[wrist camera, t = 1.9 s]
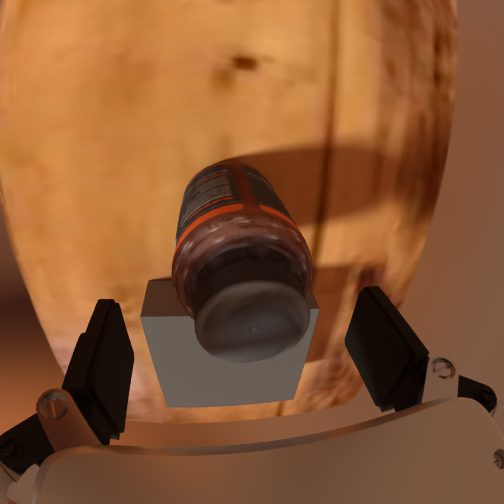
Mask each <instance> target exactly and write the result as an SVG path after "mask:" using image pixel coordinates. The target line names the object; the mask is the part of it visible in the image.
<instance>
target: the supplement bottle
mask: <svg viewBox="0 0 504 504" xmlns="http://www.w3.org/2000/svg"><path fill="white" fill-rule="evenodd" d="M312 272H313V266H312V258H311V254H310V251H309V248H308V246H307V243H306V241H305V239H304V237H303V236H302V234H301V232H300V231H299V229H298V227H297V226H296V224H295V223H294V221H293V219H292V218H291V216H290V215H289V213H288V211H287V210H286V208H285V207H284V205H283V204H282V202H281V200H280V199H279V197H278V196H277V194H276V193H275V191H274V190H273V188H272V187H271V185H270V184H269V182H268V181H267V180H266V179H265V178H264V177H263V175H261V174H260V173H259V172H258V171H257V170H256V169H254V168H252V167H250V166H248V165H245V164H242V163H238V162H220V163H216V164H213V165H211V166H208V167H206V168H205V169H203V170H201V171H200V172H199V173H198V174H196V175H195V176H194V177H193V178H192V180H191V181H190V183H189V184H188V186H187V188H186V191H185V193H184V196H183V199H182V204H181V210H180V215H179V221H178V227H177V233H176V240H175V247H174V254H173V262H172V285H173V290H174V293H175V296H176V298H177V300H178V302H179V304H180V305H181V307H182V308H183V310H184V311H185V312H186V313H187V314H188V315H189V316H190V317H191V318H192V319H193V320H194V321H195V322H194V324H195V334H196V337H197V340H198V342H199V343H200V345H201V346H202V348H203V349H204V350H206V351H207V352H208V353H209V354H210V355H212V356H214V357H216V358H217V359H219V360H222V361H226V362H230V363H236V364H253V363H261V362H265V361H268V360H271V359H274V358H277V357H278V356H281V355H283V354H284V353H286V352H287V351H288V350H290V349H291V348H293V347H294V346H295V345H297V343H298V342H299V341H300V340H301V339H302V338H303V336H304V335H305V333H306V331H307V328H308V326H309V323H310V309H309V305H308V302H307V300H306V297H305V296H306V294H307V292H308V289H309V287H310V283H311V280H312Z"/></svg>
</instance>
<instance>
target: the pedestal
mask: <svg viewBox="0 0 504 504" xmlns="http://www.w3.org/2000/svg"><path fill="white" fill-rule="evenodd" d="M305 297H306V300H307V302H308V305H309V309H310V323H309V326H308V328H307V331H306V333H305V335H304V336H303V338H302V339H301V340H300V341H299V342H298V343H297V345H295V346H294V347H293V348H291V349H290V350H288V351H287V352H286V353H284V354H283V355H281V356H278V357H277V358H274V359H271V360H268V361H265V362H261V363H253V364H236V363H230V362H226V361H222V360H219V359H217V358H216V357H214V356H212V355H210V354H209V353H208V352H207V351H206V350H204V349H203V348H202V346H201V345H200V343H199V342H198V340H197V337H196V334H195V324H194V322H195V321H194V320H193V319H192V318H191V317H190V316H189V315H188V314H187V313H186V312H185V311H184V310H183V308H182V307H181V305H180V304H179V302H178V300H177V298H176V296H175V293H174V290H173V285H172V280H163V281H148V285H147V289H146V293H145V298H144V302H143V307H142V311H141V316H140V317H141V321H142V325H143V329H144V333H145V336H146V340H147V343H148V347H149V350H150V354H151V357H152V361H153V364H154V367H155V370H156V373H157V377H158V380H159V383H160V386H161V389H162V392H163V395H164V397H165V400H166V403H167V406H168V407H218V406H235V405H248V404H258V403H268V402H276V401H284V400H292V399H294V396H295V393H296V390H297V387H298V384H299V380H300V377H301V374H302V371H303V367H304V364H305V360H306V357H307V353H308V350H309V346H310V343H311V339H312V336H313V332H314V328H315V324H316V320H317V317H318V313H319V309H320V308H319V306H318V304H317V302H316V300H315V298H314V296H313V294H312V292H311V290H310V287H309V289H308V292H307V294H306V296H305Z"/></svg>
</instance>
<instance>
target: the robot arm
mask: <svg viewBox="0 0 504 504" xmlns="http://www.w3.org/2000/svg"><path fill="white" fill-rule="evenodd" d="M345 345H346V348H347V350H348V352H349V354H350V355H351V357H352V359H353V361H354V363H355V365H356V367H357V369H358V371H359V373H360V375H361V377H362V379H363V381H364V383H365V385H366V387H367V389H368V391H369V393H370V395H371V397H372V399H373V401H374V403H375V405H376V406H379V407H380V409H381V411H382V412H384V411H388V410H391V409H393V408H394V409H395V411H396V412H395V413H392V414H388V415H385V416H382V417H379V418H375V419H372V420H369V421H365V422H362V423H358V424H354V425H350V426H346V427H342V428H338V429H334V430H330V431H325V432H321V433H316V434H311V435H305V436H300V437H294V438H289V439H282V440H275V441H268V442H260V443H251V444H241V445H230V446H213V447H141V446H120V445H109V444H110V439H117V440H119V435H120V433H123V432H124V429H125V420H126V412H127V404H128V397H129V390H130V383H131V377H132V370H133V365H134V352H133V349H132V346H131V342H130V339H129V336H128V333H127V329H126V326H125V322H124V319H123V315H122V312H121V308H120V305H119V303H115V301H114V299H99V300H98V302H97V304H96V306H95V309H94V311H93V314H92V316H91V319H90V321H89V324H88V327H87V329H86V332H85V333H82V334H81V335H80V336H79V339H78V341H77V344H76V347H75V349H74V352H73V355H72V358H71V361H70V363H69V366H68V369H67V372H66V375H65V378H64V382H63V385H62V388H61V389H59V388H54V389H53V388H52V389H49V390H47V391H45V392H44V393H42V395H41V396H40V397H39V398H38V401H37V403H36V411H37V413H36V414H34V415H32V416H31V417H29V418H28V419H26V420H25V421H23V422H21V423H19V424H18V425H16V426H15V427H13V428H11V429H10V430H8V431H6V432H5V433H3V434H2V435H1V436H0V504H30V503H31V504H504V403H503V402H502V401H501V400H499V401H498V402H497V397H496V395H495V393H494V391H493V390H492V389H491V388H490V387H489V386H487V385H485V384H482V383H479V382H476V381H474V380H471V379H468V378H465V377H463V376H460V375H459V372H458V367H457V365H456V364H455V363H454V362H453V360H451V359H450V358H449V357H446V356H444V355H435V356H433V357H431V358H429V357H428V354H429V352H428V350H427V349H426V347H425V346H424V345H423V343H422V342H421V341H420V339H419V338H418V337H417V335H416V334H415V333H414V331H413V330H412V329H411V327H410V326H409V325H408V323H407V322H406V321H405V319H404V318H403V317H402V315H401V314H400V313H399V311H398V310H397V309H396V308H395V306H394V305H393V304H392V302H391V301H390V300H389V299H388V297H387V296H386V295H385V294H384V292H383V291H382V290H381V289H380V288H379V287H378V286H370V287H364V289H363V290H362V291H360V293H359V296H358V299H357V302H356V306H355V309H354V312H353V315H352V318H351V321H350V325H349V328H348V331H347V334H346V337H345Z"/></svg>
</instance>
